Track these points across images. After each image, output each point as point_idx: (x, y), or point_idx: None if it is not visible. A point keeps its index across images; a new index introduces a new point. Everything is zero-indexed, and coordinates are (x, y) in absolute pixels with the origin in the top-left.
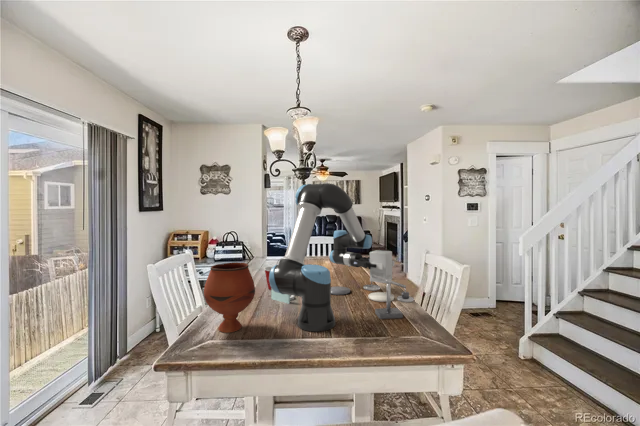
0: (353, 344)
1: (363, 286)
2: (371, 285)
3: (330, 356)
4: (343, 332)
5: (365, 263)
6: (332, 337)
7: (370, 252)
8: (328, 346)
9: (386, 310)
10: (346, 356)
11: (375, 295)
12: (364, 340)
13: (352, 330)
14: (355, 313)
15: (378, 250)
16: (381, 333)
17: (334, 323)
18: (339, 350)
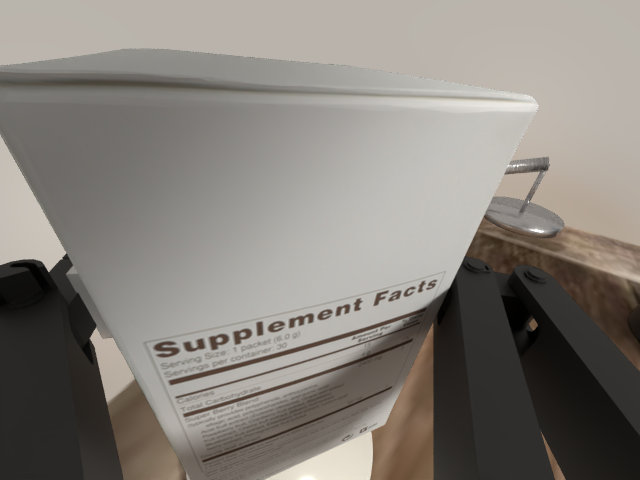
0: (565, 244)
1: (563, 226)
2: (525, 206)
3: (617, 241)
4: (591, 280)
5: (549, 278)
6: (624, 278)
7: (518, 98)
8: (628, 260)
9: None
10: (582, 231)
11: (310, 468)
12: (536, 242)
13: (561, 276)
14: None
15: (153, 58)
16: (486, 241)
17: (634, 309)
18: (598, 244)
